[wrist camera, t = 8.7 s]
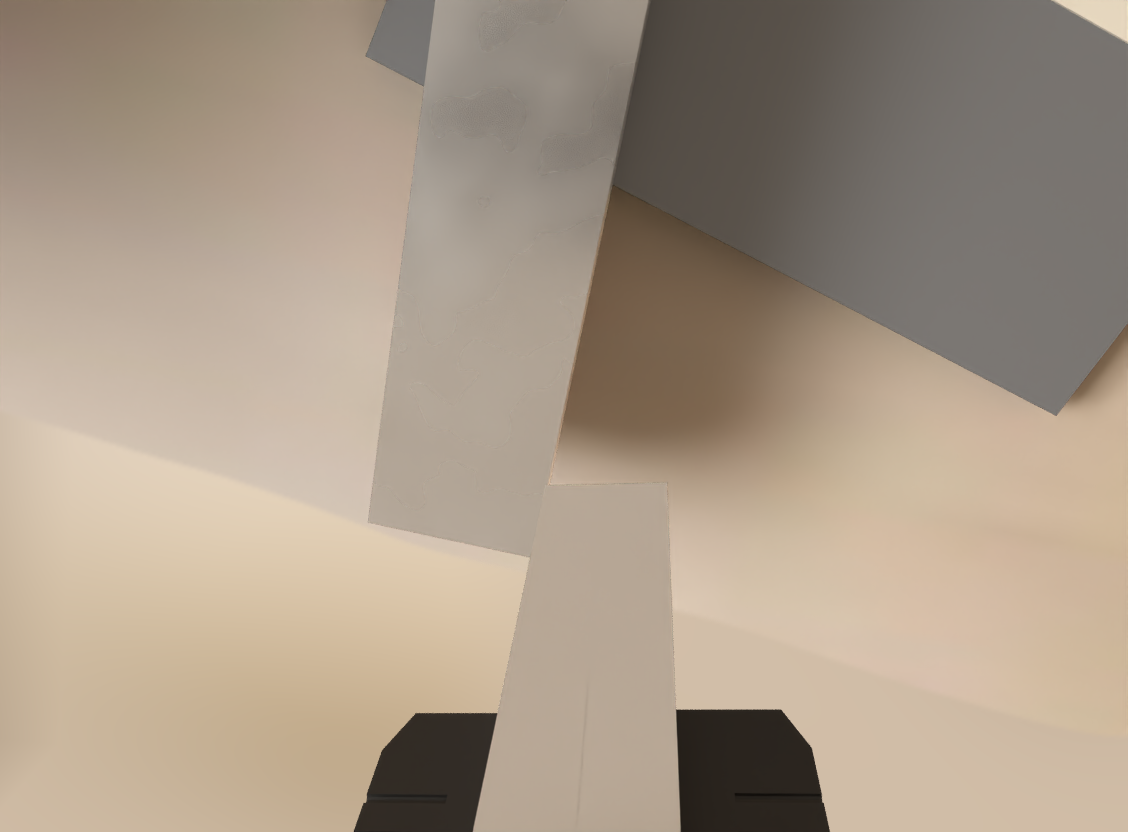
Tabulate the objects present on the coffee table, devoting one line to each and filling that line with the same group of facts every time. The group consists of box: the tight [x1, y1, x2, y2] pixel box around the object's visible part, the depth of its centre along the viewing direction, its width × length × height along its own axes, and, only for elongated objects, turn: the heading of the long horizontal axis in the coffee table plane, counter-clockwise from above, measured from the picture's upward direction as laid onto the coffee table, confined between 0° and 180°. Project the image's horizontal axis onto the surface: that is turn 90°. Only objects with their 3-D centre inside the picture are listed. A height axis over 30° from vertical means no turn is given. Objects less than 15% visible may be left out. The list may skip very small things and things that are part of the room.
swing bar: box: [368, 0, 651, 557], centre depth 21 cm, size 21×4×6 cm, turn 169°
